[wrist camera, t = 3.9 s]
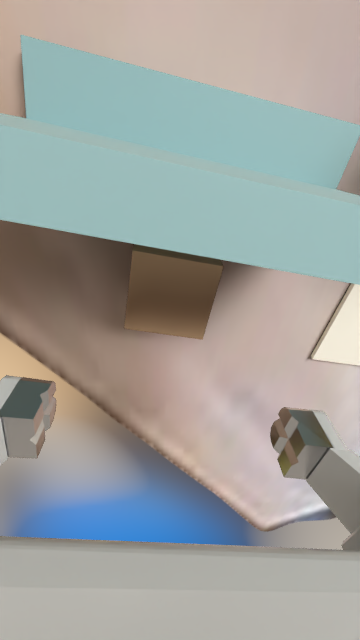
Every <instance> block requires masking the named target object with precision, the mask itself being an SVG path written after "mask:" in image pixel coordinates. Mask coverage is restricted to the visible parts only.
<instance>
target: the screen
mask: <svg viewBox="0 0 360 640" xmlns="http://www.w3.org/2000/svg"><path fill="white" fill-rule="evenodd" d="M21 48H22V63H23V77H24V91H25V106H26V118H22V117H17V116H12V115H7V114H2V113H0V220H5V221H10V222H16V223H21V224H27V225H32V226H38V227H44V228H49V229H55V230H60V231H66V232H71V233H77V234H82V235H88V236H93V237H99V238H104V239H110V240H115V241H121V242H126V243H132V244H137V245H143V246H148V247H154V248H159V249H165V250H170V251H176V252H181V253H187V254H193V255H198V256H204V257H209V258H215V259H220V260H226V261H231V262H237V263H242V264H248V265H253V266H259V267H264V268H270V269H275V270H281V271H286V272H292V273H297V274H303V275H308V276H314V277H319V278H325V279H331V280H336V281H342V282H347V283H353V284H358V285H360V196H359V195H356V194H352V193H348V192H344V191H340V190H336V188H337V186H338V184H339V181H340V179H341V177H342V175H343V172H344V170H345V168H346V166H347V163H348V161H349V159H350V157H351V154H352V152H353V150H354V148H355V145H356V143H357V141H358V139H359V136H360V125H357V124H353V123H349V122H346V121H342V120H338V119H334V118H331V117H327V116H323V115H319V114H316V113H312V112H308V111H304V110H301V109H297V108H293V107H289V106H286V105H282V104H278V103H274V102H271V101H267V100H263V99H260V98H256V97H252V96H248V95H245V94H241V93H237V92H233V91H230V90H226V89H222V88H218V87H215V86H211V85H207V84H203V83H200V82H196V81H192V80H188V79H185V78H181V77H177V76H173V75H170V74H166V73H162V72H158V71H155V70H151V69H147V68H144V67H140V66H136V65H132V64H129V63H125V62H121V61H117V60H114V59H110V58H106V57H102V56H99V55H95V54H91V53H87V52H84V51H80V50H76V49H72V48H69V47H65V46H61V45H57V44H54V43H50V42H46V41H43V40H39V39H35V38H31V37H28V36H24V35H21Z"/></svg>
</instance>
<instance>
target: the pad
mask: <svg viewBox="0 0 360 640" xmlns="http://www.w3.org/2000/svg"><path fill="white" fill-rule="evenodd" d="M311 358H312V359H315V360H322V361H329V362H337V363H344V364H351V365H359V366H360V285H358V284H353V283H351V285H350V286H349V288H348V290H347V292H346V294H345V295H344V297H343V299H342V301H341V303H340V304H339V306H338V308H337V310H336V312H335V313H334V315H333V317H332V319H331V320H330V322H329V324H328V326H327V328H326V329H325V331H324V333H323V335H322V337H321V338H320V340H319V342H318V344H317V346H316V347H315V349H314V351H313V353H312V355H311Z"/></svg>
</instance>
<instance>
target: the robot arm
mask: <svg viewBox="0 0 360 640" xmlns="http://www.w3.org/2000/svg"><path fill="white" fill-rule="evenodd" d="M55 391H56V385H55V382H53V381H46V380H39V379H32V378H24V377H23V378H22V377H14V376H7V375H6V376H5V377H3V378H2V379H1V381H0V465H1V464H2V463H4V462H5V461H6V460H7V459H8V457H19V458H37V457H38V455H39V453H40V450H41V448H42V446H43V443H44V441H45V431H46V430H48V429H49V428H50V426H51V424H52V422H53V419H54V415H55V411H56V399H55V398H54V397H53V395H54V393H55ZM278 415H279V417H280V419H278V420H276V421H275V422H274V423H273V425H272V427H271V433H270V437H271V443H272V446H273V448H274V449H275V450H276V451H277V452H278V453H279V456H278V459H277V460H278V462H279V465H280V468H281V470H282V473H283V476H284V477H287V478H297V479H306V481H307V482H308V484H309V485H310V486H311V487H312V488H313V490H314V491H315V492H316V493H317V494H318V495H319V497H320V498H321V499H322V500H323V501H324V503H325V504H326V505H327V506H328V507H329V508H330V510H331V511H332V512H333V513H334V514H335V516H336V517H337V518H338V519H339V520H340V521H341V523H342V524H343V525H344V526H345V527H346V528H347V530H348V531H349V532H350V533H351V535H350V536H349V537H348V538H347V539H346V540H344V541H343V543H342V548H343V550H332V549H307V548H282V547H257V546H232V545H231V546H230V545H207V544H206V545H205V544H183V543H181V544H180V543H156V542H132V541H106V540H82V539H56V538H31V537H5V536H0V640H360V456H358V455H357V454H356V453H355V452H353V451H352V450H348V449H347V447H346V446H345V444H344V443H343V441H342V439H341V438H340V436H339V434H338V433H337V431H336V430H335V428H334V426H333V425H332V423H331V421H330V420H329V418H328V417H327V415H326V414H325V413H324V412H323V411H318V410H307V409H298V408H288V407H284V408H282V409H281V410H280V412H279V414H278Z"/></svg>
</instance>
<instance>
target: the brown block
mask: <svg viewBox="0 0 360 640" xmlns="http://www.w3.org/2000/svg"><path fill="white" fill-rule="evenodd" d="M223 267H224V266H223V264H222V262H221V260H220V259H215V258H209V257H204V256H198V255H193V254H187V253H181V252H176V251H170V250H165V249H159V248H154V247H148V246H143V245H137V244H135V245H134V248H133V251H132V260H131V269H130V278H129V287H128V296H127V306H126V315H125V324H124V329H131V330H138V331H145V332H152V333H159V334H166V335H174V336H181V337H188V338H195V339H202V340H203V336H204V333H205V329H206V326H207V322H208V319H209V315H210V312H211V309H212V305H213V302H214V298H215V295H216V291H217V288H218V284H219V281H220V277H221V274H222V271H223Z"/></svg>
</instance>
